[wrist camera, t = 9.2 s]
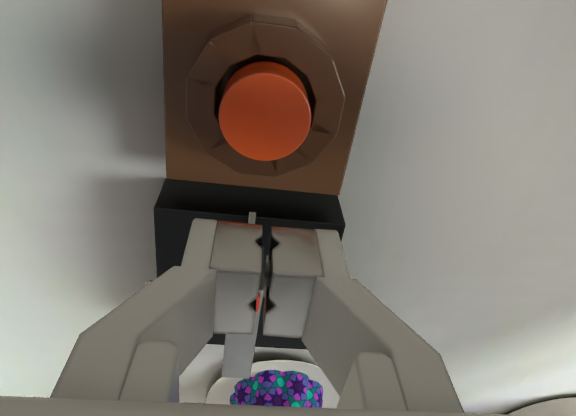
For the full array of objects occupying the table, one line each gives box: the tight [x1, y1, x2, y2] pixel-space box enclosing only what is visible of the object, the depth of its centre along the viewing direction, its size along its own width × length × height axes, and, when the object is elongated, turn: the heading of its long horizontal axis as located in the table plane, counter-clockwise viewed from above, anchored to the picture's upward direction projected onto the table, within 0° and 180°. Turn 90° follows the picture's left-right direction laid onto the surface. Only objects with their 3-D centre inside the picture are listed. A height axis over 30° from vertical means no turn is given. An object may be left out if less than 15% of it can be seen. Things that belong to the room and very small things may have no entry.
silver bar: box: [222, 245, 264, 379], centre depth 22 cm, size 7×2×4 cm, turn 172°
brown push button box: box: [162, 0, 387, 195], centre depth 19 cm, size 10×9×4 cm
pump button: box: [219, 61, 311, 161], centre depth 17 cm, size 4×4×2 cm
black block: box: [146, 179, 345, 349], centre depth 25 cm, size 11×11×3 cm
